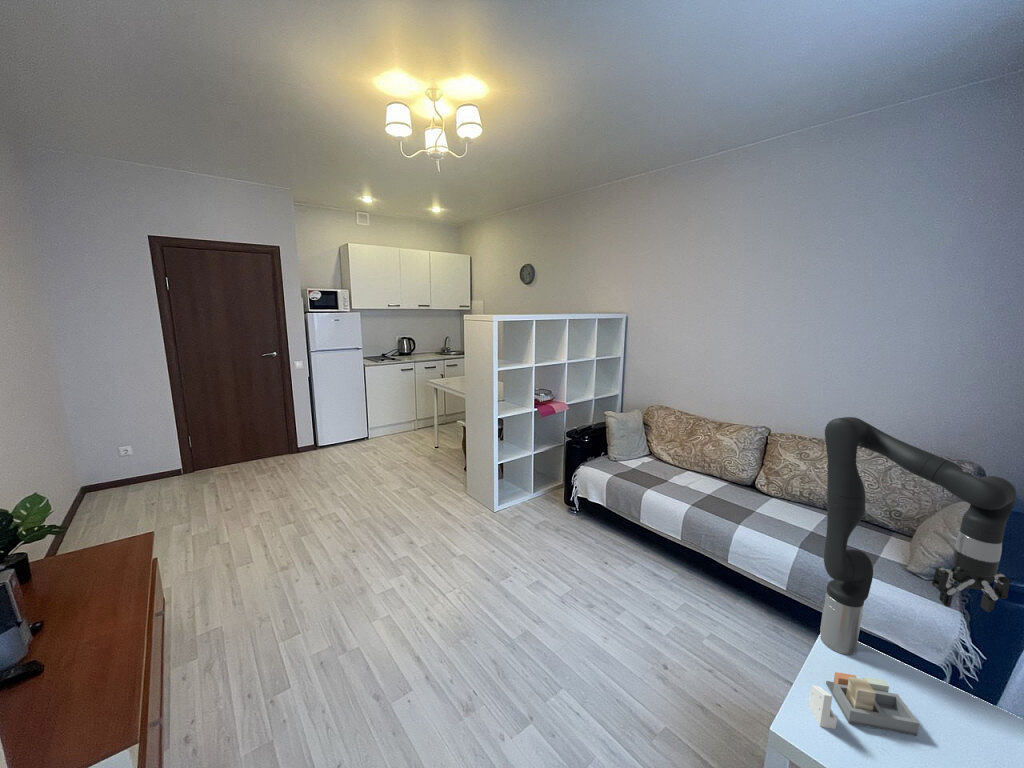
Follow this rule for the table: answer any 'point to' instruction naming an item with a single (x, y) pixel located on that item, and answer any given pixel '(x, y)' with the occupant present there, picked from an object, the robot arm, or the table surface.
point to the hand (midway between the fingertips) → (965, 607)
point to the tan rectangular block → (860, 694)
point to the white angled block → (822, 707)
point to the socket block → (875, 707)
